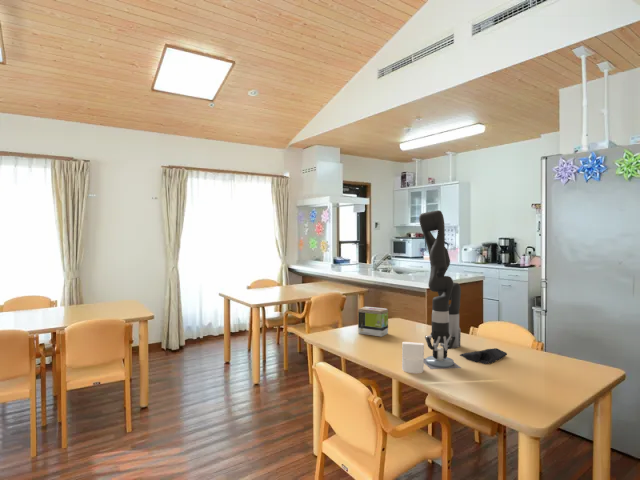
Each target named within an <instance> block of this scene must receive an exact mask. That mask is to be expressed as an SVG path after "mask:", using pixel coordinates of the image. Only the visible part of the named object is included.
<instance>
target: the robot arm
mask: <svg viewBox="0 0 640 480" xmlns="http://www.w3.org/2000/svg"><path fill="white" fill-rule="evenodd" d="M418 219H419V225H420V228H421V232H422V234H423V238H424V240H425V243H426V247H427V251H428V255H429V262H430V274H429V279H428V289H429V290H430V291H431V292H434V293H436V292H437V294H438V296H434V297H433V298H432V304H431V305H432V308H431V309H432V312H431V332H430V334H429V335H425V336H424V339H425V341H426V344H427V347H428V349H430V350H432V356H433V357H434V358H435V359H437V348H439V345H440V346H441V347H442V348H443V349H444V359H446V357H448V350H451V349H456V348H460V347H461V336H462V335H461V327H460V308H461V298H462V297H461V295H462V289H461V288H462V287H461V285H460V284H459V283H458V282H454V281H453V278H452V277H451V276H449V275H446V272H447V271H448V269H449V267H450V265H451V259H450V254H449V251H448V249H447V247H446V246H445V244H446V243H445V242H446V240H445V239H446V237H445V236H446V235H445V234H446V233H445V231H446V229H445V218H444V215H443V212H442V210H438V209H437V210H432V211H426V212H423V213H420V214H419V216H418ZM434 231H437V235H436V237H435V236H434V235H433V233H432V232H434Z"/></svg>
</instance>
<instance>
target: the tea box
mask: <svg viewBox="0 0 640 480" xmlns="http://www.w3.org/2000/svg"><path fill="white" fill-rule="evenodd" d="M357 311H358V312H357V313H358V314H357V317H358V318H357V319H358V320H357V322H358V325H357V327H358V328H357V329H358V331H357V332H358V334H360V335H368V336H374V337H375V336H376V337H385V336H387V334H388V333H389V309H388V308H385V307H384V308H383V307H375V306H374V307H373V306H363V307H360V308H358V309H357Z"/></svg>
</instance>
